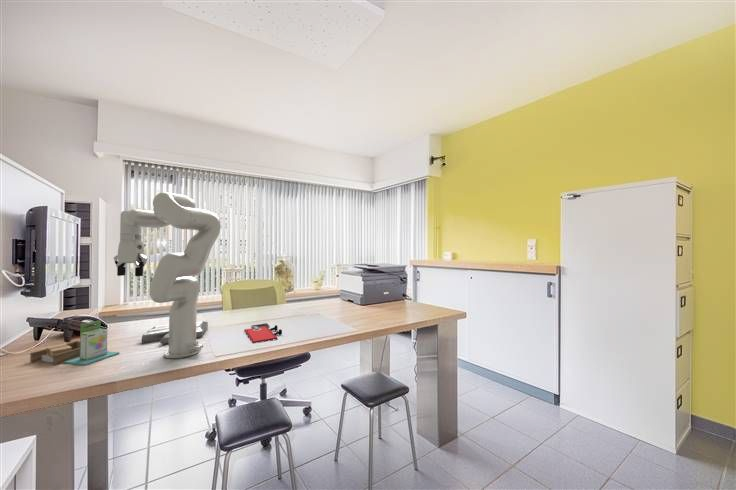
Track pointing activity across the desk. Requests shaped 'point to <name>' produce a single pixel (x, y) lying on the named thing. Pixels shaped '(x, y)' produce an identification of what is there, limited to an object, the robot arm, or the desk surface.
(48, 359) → the grey offcut
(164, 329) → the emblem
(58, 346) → the oak offcut
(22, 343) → the desk surface
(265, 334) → the red board with handle
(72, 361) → the teal mat
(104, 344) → the ink box
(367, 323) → the desk surface
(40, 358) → the tray
